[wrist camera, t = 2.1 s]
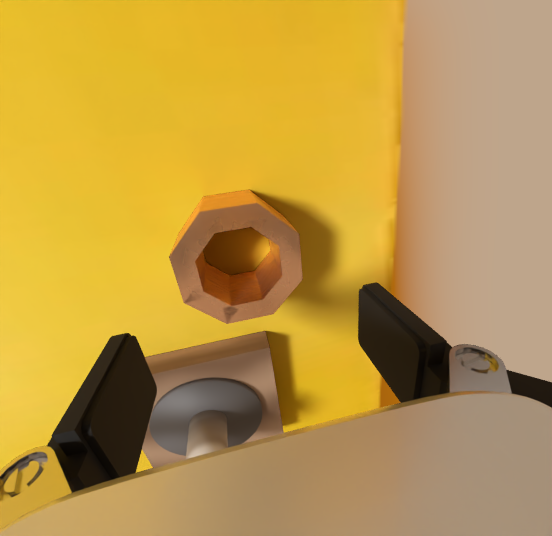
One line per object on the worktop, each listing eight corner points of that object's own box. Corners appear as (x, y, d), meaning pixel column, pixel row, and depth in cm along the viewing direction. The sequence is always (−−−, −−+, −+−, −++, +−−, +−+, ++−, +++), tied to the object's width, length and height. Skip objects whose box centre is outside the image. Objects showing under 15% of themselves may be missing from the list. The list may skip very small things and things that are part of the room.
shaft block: (114, 364, 21) (43, 517, 12) (265, 330, 22) (294, 447, 14) (161, 452, 26) (134, 600, 18) (280, 420, 28) (307, 543, 19)
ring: (169, 201, 16) (156, 218, 13) (280, 184, 17) (296, 196, 14) (197, 296, 20) (193, 331, 16) (289, 278, 20) (304, 307, 17)
